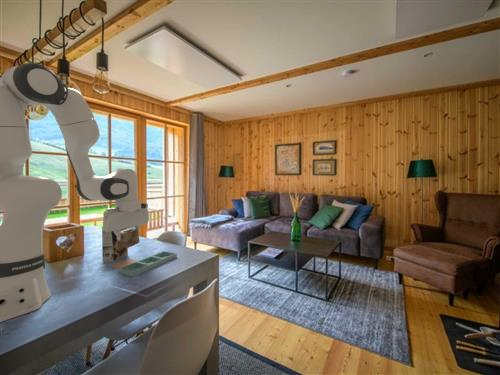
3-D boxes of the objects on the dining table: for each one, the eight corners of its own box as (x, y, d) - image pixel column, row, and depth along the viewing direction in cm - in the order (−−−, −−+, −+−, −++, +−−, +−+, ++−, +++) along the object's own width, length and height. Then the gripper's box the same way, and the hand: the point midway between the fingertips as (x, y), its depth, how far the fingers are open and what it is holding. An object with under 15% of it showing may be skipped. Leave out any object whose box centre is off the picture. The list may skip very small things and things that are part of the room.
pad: (125, 270, 97) (125, 268, 97) (111, 267, 101) (111, 265, 101) (143, 263, 105) (143, 261, 105) (129, 260, 109) (129, 258, 109)
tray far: (164, 263, 105) (164, 258, 105) (150, 261, 108) (150, 256, 108) (176, 258, 112) (176, 253, 112) (163, 255, 116) (163, 251, 115)
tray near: (133, 277, 90) (133, 271, 90) (119, 274, 94) (118, 268, 94) (149, 270, 98) (149, 264, 98) (136, 267, 101) (136, 261, 101)
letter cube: (127, 248, 99) (126, 234, 98) (117, 245, 102) (116, 232, 101) (139, 242, 105) (138, 229, 104) (129, 240, 107) (128, 227, 106)
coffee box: (114, 263, 106) (113, 227, 105) (101, 262, 107) (101, 226, 106) (128, 256, 114) (128, 223, 114) (117, 255, 116) (116, 222, 115)
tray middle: (149, 270, 98) (149, 264, 98) (136, 267, 101) (136, 261, 101) (164, 263, 105) (164, 258, 105) (150, 261, 108) (150, 256, 108)
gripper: (108, 209, 91) (110, 245, 92) (151, 203, 110) (151, 233, 110) (98, 208, 94) (99, 243, 94) (141, 203, 112) (141, 231, 113)
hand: (127, 237), depth 103 cm, fingers closed on letter cube, 6 cm apart
